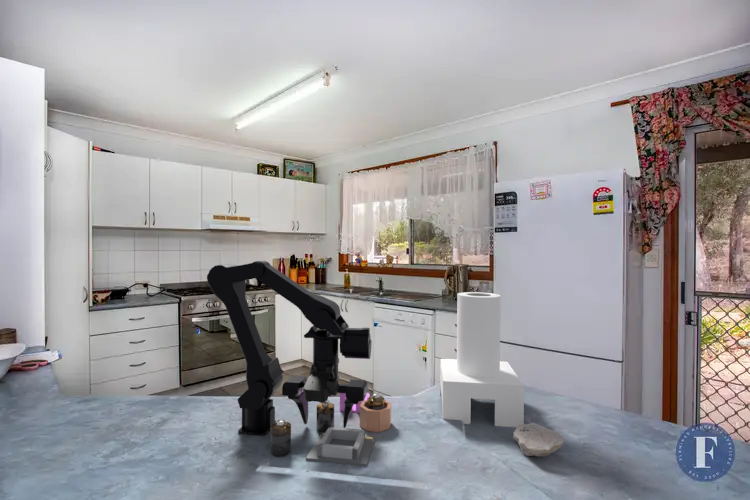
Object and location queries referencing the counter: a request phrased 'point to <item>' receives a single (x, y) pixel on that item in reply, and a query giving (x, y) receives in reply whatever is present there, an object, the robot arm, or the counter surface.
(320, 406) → the cell
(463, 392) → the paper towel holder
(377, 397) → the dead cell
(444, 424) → the counter surface
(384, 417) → the cup
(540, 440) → the fossil
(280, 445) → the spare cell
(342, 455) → the cradle
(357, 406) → the bracket
